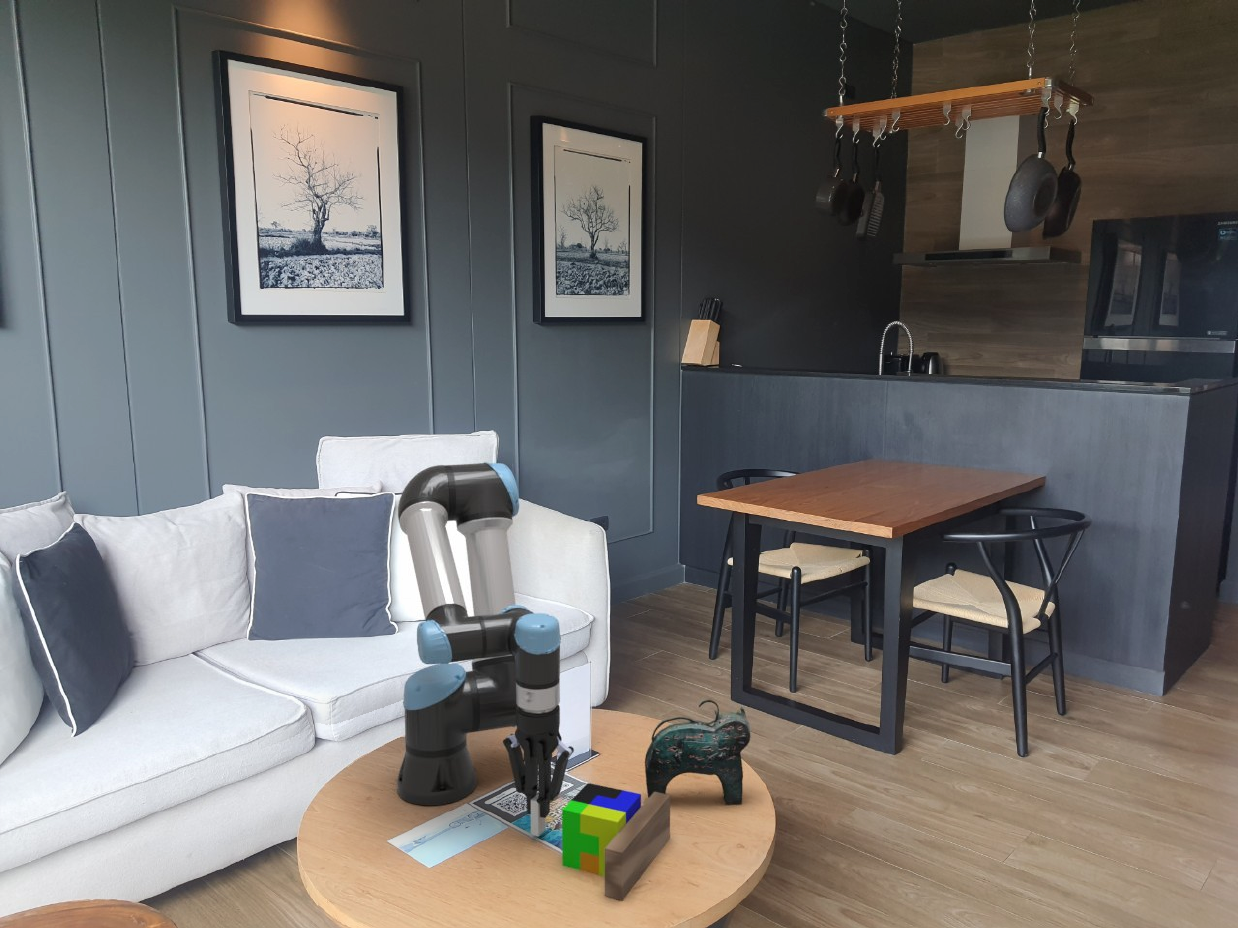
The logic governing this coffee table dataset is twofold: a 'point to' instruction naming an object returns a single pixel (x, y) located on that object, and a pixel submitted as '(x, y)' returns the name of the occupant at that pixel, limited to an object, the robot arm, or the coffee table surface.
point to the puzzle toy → (594, 825)
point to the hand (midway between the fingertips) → (538, 831)
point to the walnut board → (636, 845)
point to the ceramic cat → (700, 752)
